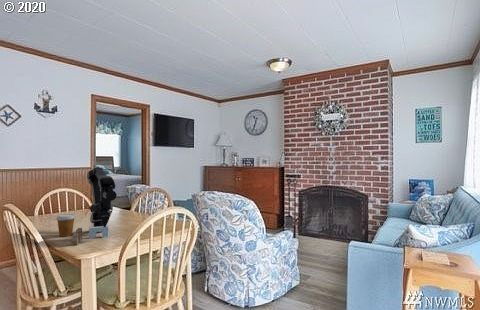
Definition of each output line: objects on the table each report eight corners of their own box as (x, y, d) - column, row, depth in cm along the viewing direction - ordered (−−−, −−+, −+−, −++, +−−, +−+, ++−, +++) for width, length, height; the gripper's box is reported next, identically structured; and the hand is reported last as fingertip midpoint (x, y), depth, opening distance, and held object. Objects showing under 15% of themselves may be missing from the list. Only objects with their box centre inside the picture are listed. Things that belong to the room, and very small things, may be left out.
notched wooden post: (78, 238, 164) (78, 228, 164) (81, 238, 165) (82, 227, 165) (72, 245, 151) (72, 234, 151) (76, 245, 152) (77, 234, 152)
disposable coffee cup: (78, 233, 175) (78, 213, 175) (69, 237, 165) (69, 217, 165) (62, 233, 175) (62, 213, 175) (52, 237, 165) (52, 217, 165)
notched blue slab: (89, 237, 166) (89, 227, 166) (108, 236, 170) (108, 225, 170) (89, 238, 164) (89, 228, 164) (108, 237, 167) (108, 226, 167)
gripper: (93, 196, 174) (92, 222, 174) (87, 201, 157) (87, 230, 157) (113, 196, 178) (112, 221, 178) (110, 200, 160) (109, 228, 160)
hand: (105, 225), depth 168 cm, fingers open, 9 cm apart
